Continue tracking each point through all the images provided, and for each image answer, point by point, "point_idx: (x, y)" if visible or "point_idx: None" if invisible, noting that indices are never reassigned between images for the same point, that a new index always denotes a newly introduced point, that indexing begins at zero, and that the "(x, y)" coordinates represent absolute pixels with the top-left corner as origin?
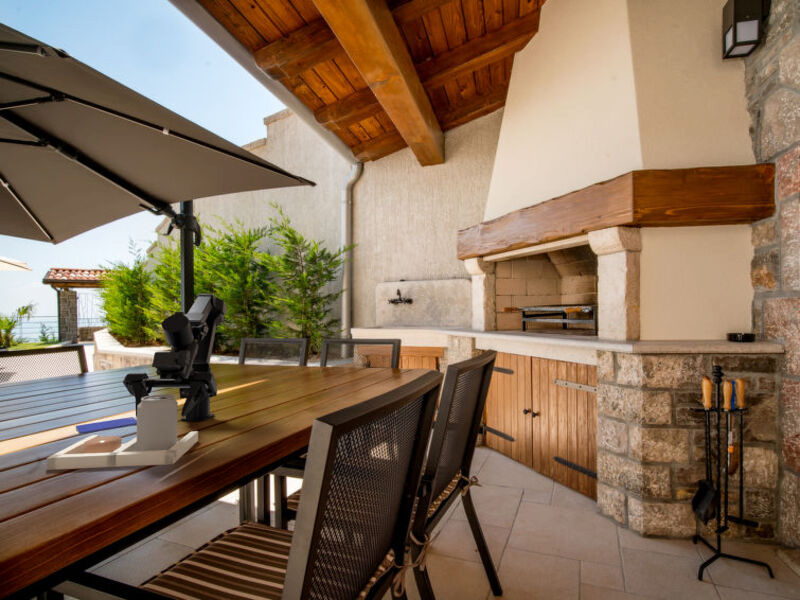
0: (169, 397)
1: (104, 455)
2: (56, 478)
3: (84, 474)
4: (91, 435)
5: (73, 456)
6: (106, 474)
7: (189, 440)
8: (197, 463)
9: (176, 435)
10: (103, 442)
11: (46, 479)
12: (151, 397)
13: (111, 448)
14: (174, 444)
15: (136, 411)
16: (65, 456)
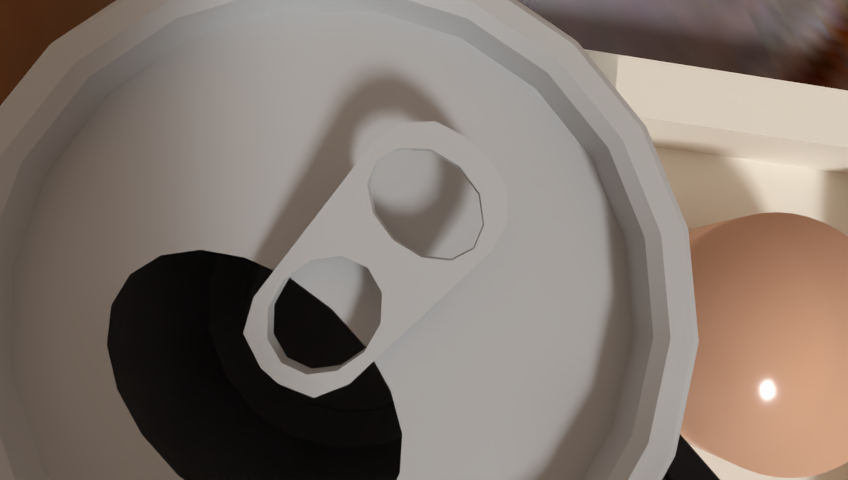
0: (107, 478)
1: (635, 58)
2: (788, 24)
3: (670, 44)
4: None
5: (830, 92)
6: (547, 7)
7: None
8: (20, 40)
9: (181, 310)
10: (758, 283)
11: (831, 25)
12: None
13: None
14: (206, 264)
15: (683, 445)
16: None
